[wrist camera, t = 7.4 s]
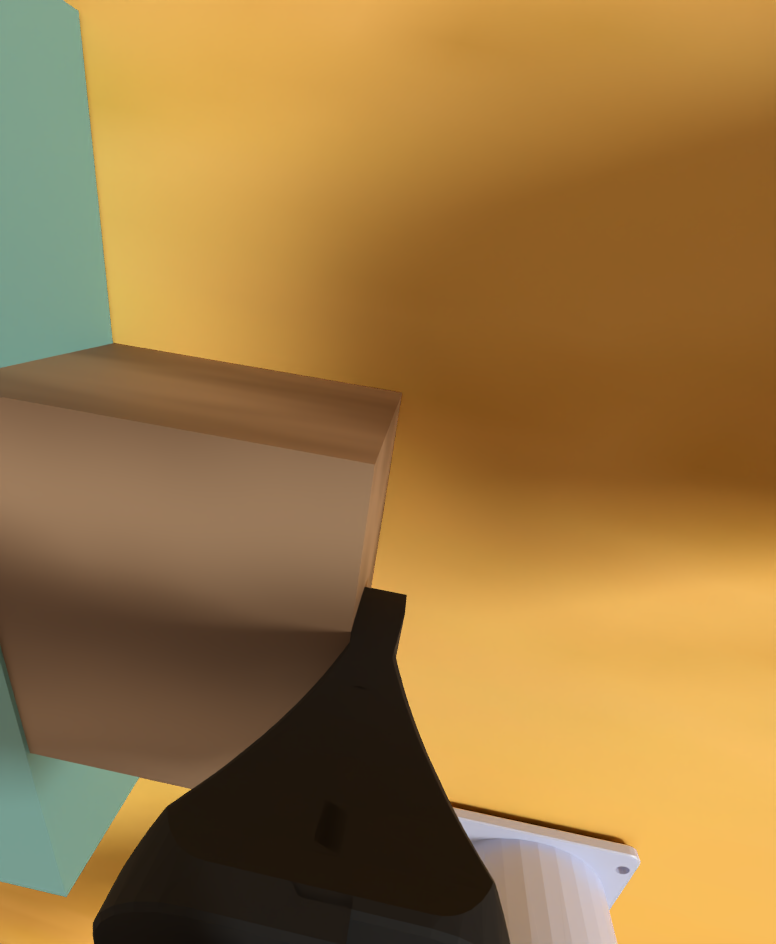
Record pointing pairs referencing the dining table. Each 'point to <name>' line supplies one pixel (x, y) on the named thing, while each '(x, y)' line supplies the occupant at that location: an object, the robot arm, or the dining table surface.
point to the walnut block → (179, 550)
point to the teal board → (36, 337)
